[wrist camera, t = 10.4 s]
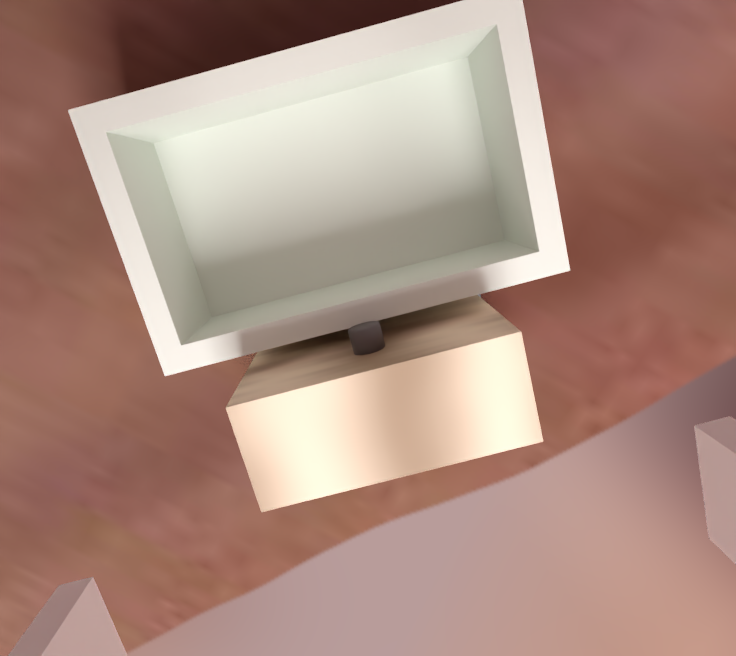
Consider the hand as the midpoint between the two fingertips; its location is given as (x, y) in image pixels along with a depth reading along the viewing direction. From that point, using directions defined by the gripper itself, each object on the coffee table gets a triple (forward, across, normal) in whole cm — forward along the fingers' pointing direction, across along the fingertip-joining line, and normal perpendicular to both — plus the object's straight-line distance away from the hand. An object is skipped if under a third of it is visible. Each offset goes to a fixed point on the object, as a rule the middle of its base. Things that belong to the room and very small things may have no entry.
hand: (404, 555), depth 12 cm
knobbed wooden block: (+16, 0, 0) cm, 16 cm away
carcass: (+17, 0, +4) cm, 17 cm away
